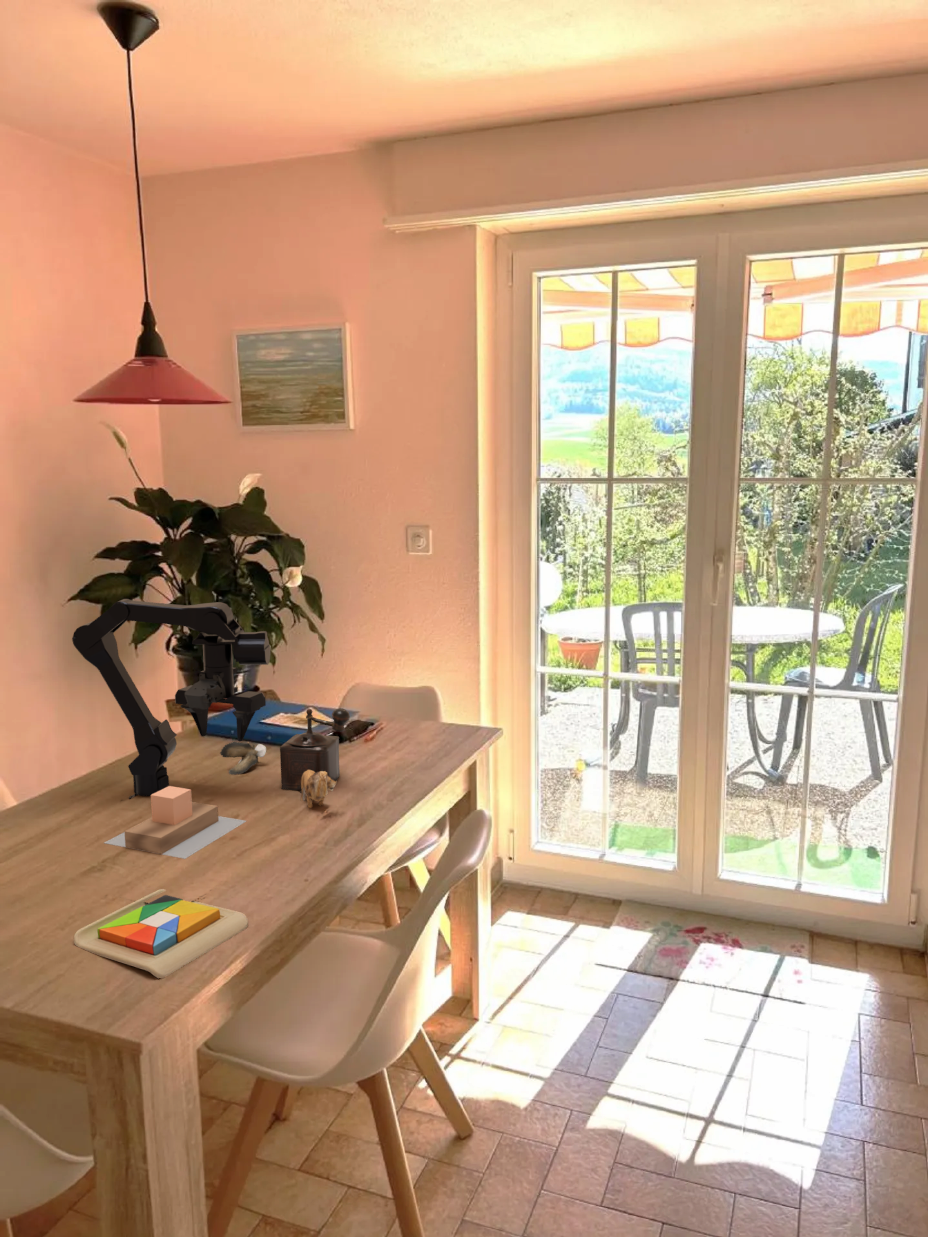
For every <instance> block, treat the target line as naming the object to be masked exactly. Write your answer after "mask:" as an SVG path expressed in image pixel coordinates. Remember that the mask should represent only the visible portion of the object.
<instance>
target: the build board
mask: <svg viewBox="0 0 928 1237" xmlns="http://www.w3.org/2000/svg"><path fill="white" fill-rule="evenodd" d="M218 819H219V821H218V822H216V823H214V824H213V825H211V826H209V827H207V828H206V829H204V830H202V831H201V832H199V833H197V834H195V835H194V836H192V837H190V838H189V839H187V840H185V841H183V842H182V843H180V844H178V845H177V846H175V847H173V848H171V849H170V850H168V851H166V852H165V853H163V854H161V855H163V856H169V857H173V858H179V859H183V860H186V859H188V858H189V857H191V856H192V855H194V854H196V853H197V852H199V851H200V850H202V849H203V848H206V847H207V846H209V845H210V844H212V843H214V842H215V841H217V840H218V839H220V838H221V837H224V836H225V835H227V834H228V833H230V832H232V831H233V830H235V829H236V828H237V827H239V826H241V825H243V824H245V823H246V822H247V820H245V819H239V818H238V819H237V818H232V817H225V816H221V815H218ZM103 844H106V845H111V846H116V847H122V848H126V849H128V848H127V847H126V846H125V832H124V831H123V832H122V833H120V834H118V835H116V836H114V837H112V838H110V839H108V840H107V841H104V842H103ZM130 849H133V848H130ZM133 850H134V849H133ZM135 850H138V849H135ZM138 851H139V850H138ZM140 851H142V852H144V851H143V850H140ZM146 852H148V851H146ZM148 853H149V852H148ZM151 853H153V852H151ZM153 854H154V853H153ZM156 855H159V854H158V853H156Z"/></svg>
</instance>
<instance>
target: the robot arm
mask: <svg viewBox="0 0 928 1237" xmlns="http://www.w3.org/2000/svg"><path fill="white" fill-rule="evenodd" d="M128 621H129V622H139V623H151V624H152V623H153V624H161V625H174V626H181V627H185V628H188V629H191V630H192V631H195V632H199V633H198V635H197V636H196V637H195V638H194V639H193V640H192V642H191V643H192V645H202V654H203V656H202V658H203V670H202V671H200V672H199V675H198V676H199V678H198V681H196V682H194V683H193V685H192V684H191V685H187V686H185V687H182V688H179V689H177V690H176V692H175V695H174V702H175V703H174V704H177V705H180V708H181V709H185V710H186V711H187V712H189V713H190V715H191V717H192V719H193V721H194V722H195V726H196V728H197V729H198V732H199V734H200V736H201V737H203V738H204V737H205V736H207V731H208V721H209V720H208V717H209V708H210V707H211V705H212V704H214V703H215V704H217V703H218V704H229V705H232V707H233V709H235V711H232V714H233V715H234V716H235V719H236V720H235V721H236V735H237V737H236V738H237V742H242V741H243V740H244V737H245V736H246V733H247V731H248V728H249V725H250V723H251V721H252V720H253V718H254V715H255V713H256V712H257V711H259V710H261V708H263V707H265V706H266V705H267V704H266V702H267V701H266V696H265V694H264V693H263V692H259V691H251V690H250V691H249V690H247V691H245V692H242V693H240V694H236V693H238V692H239V688H238V687H237V686H235V685H234V681H235V680H234V674H237V673H238V668H237V667H234V664H233V662H234V661H235V662H236V663H238V664H239V665H240V666H248V665H251V666H252V665H253V666H256V665H258V666H261V665H263V666H264V665H265V666H268V665H269V664H270V661H271V645H270V641H269V638H268V632H267V631H266V630H265V631H264V630H263V631H262V630H260V631H257V632H256V631H253V632H251V631H250V632H249V631H244V629H243V628H242V627H241V625H240V624H239V623H238V622H237V620H236V619H235V618H234V613H233V610H232V609H231V607H230V606H229V605H228V604H227V603H224V602H220V601H218V602H217V601H216V602H206V603H205V602H204V603H198V604H197V603H196V604H191V605H190V604H187V605H184V604H173V603H172V604H171V603H163V602H162V603H160V602H151V601H150V602H149V601H142V600H141V601H139V600H132V599H129V598H123V599H121V600H119V601H116V602H114V603H113V604H112V606H110V608H108V609H107V610H106V611H105V612H104V613H102V614H100V615H99V616H98V617H97V618H96V619H94V620H91V621H89V622H87V623H84V624H83V625H80V626H79V627H77V628H76V629H75V630H74V632H73V635H72V638H71V641H72V644H73V647H75V649H76V650H77V651H78V653H79V654H80V655H81V656H82V657H83V659H84V660H86V661H87V662H88V663H90V665H92V666H93V667H95V668H96V669H97V670H98V672H99V674H100V675H101V677H102V678H103V680H104V682H105V683H106V685H107V687H108V689H109V691H110V692H111V694H112V695H113V696H112V697H114V699H115V701H116V702H117V704H118V706H119V707H120V709H121V711H122V713H123V715H124V716H125V718H126V719H127V721H128V723H129V724H130V726H131V728H132V731H133V737H134V740H133V741H134V745H135V748H136V750H137V753H138V755H137V756H136V757H135V758H134V759H133V760H132V762H130V763H129V764H128V765H127V766H128V770H129V772H130V774H131V775H132V777H133V780H132V781H133V794H132V795H130V796H128V799H129V800H132V799H134V798H135V797H138V796H140V797H151V795H152V794H154V793H156V792H158V791H160V790H162V789H164V788H166V787H168V786H170V778H169V774H168V769H167V767H166V766H164V764H165V763H167V762H168V760H169V757H171V755H172V754H174V752H175V751H176V748H177V744H178V743H177V740H176V736H178V735H177V733H176V732H175V731H174V730H173V729H172V728H171V725H170V722H169V721H168V719H164V720H162V722H161V721H160V720H158V719H157V717H155V716H154V715H153V714H152V712H151V710H150V708H149V707H148V704H147V702H145V700H144V698H143V696H142V694H141V693H140V691H139V690H138V687H137V686H136V684H135V682H134V681H133V679H132V677H131V675H130V674H129V673H128V670H127V669H126V667H125V666H124V663H123V662H122V660H121V658H120V655H119V648H118V642H117V639H116V636H115V634H114V633H115V632H117V631H118V630H119V629H120V628H121V627H122V626H123V625H124V624H125V623H126V622H128Z"/></svg>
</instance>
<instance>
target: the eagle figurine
mask: <svg viewBox="0 0 928 1237" xmlns="http://www.w3.org/2000/svg"><path fill="white" fill-rule="evenodd" d="M266 753H267V747H266V746H265V745H263V744H260V743H258V744H257V745H256V746H255V744H254V743H252V744H250V742H249V741H247V742H240V741H232V742H228V743H226V744H225V745H224V746H223V747H222V748H221V749H220V752H219V754H220V756H221V757H223V758H235V759H236V758H241V759H240V760H239V761H238V762H237V764H236V765H234V766H233V767H232V768H230V769H229V770H228V773H229V775H231V776H233V775H240V774H244V773H246V772H247V771H249V770H250V769H251V768H252V767H253V766H255V765H256V764H259V763H260V762H259V758H264V757H265V755H266Z"/></svg>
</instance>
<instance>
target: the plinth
mask: <svg viewBox="0 0 928 1237" xmlns="http://www.w3.org/2000/svg"><path fill="white" fill-rule="evenodd" d="M218 816H219V806H218V805H215V804H207V803H203V802H202V803H201V802H197V801H196V802H195V801H192V816H190V817H188V818H186V819H185V820H183V821H181V822H179V823H177V824H175V825H171V824H166V823H160V822H155V821H152V816H150V817H148V818H147V819H145V820H143V821H141V822H140V823H138V824H136V825H134V826H131V827H129V828H128V829H126V830H124V831H123V833H124V832H125V846H126V847H127V848H126V847H125V848H126V849H131V848H133V850H136V849H138V851H141V850H143V851H142V852H147V851H148V853H152V852H153V854H157V853H158V854H157V855H162V854H163V853H165V852H166V851H168V850H170V849H171V848H173V847H175V846H177V845H178V844H180V843H182V842H183V841H185V840H187V839H189V838H190V837H192V836H194V835H195V834H197V833H199V832H201V831H202V830H204V829H206V828H207V827H209V826H211V825H213V824H214V823H216V822H218V821H219V819H218Z"/></svg>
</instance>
